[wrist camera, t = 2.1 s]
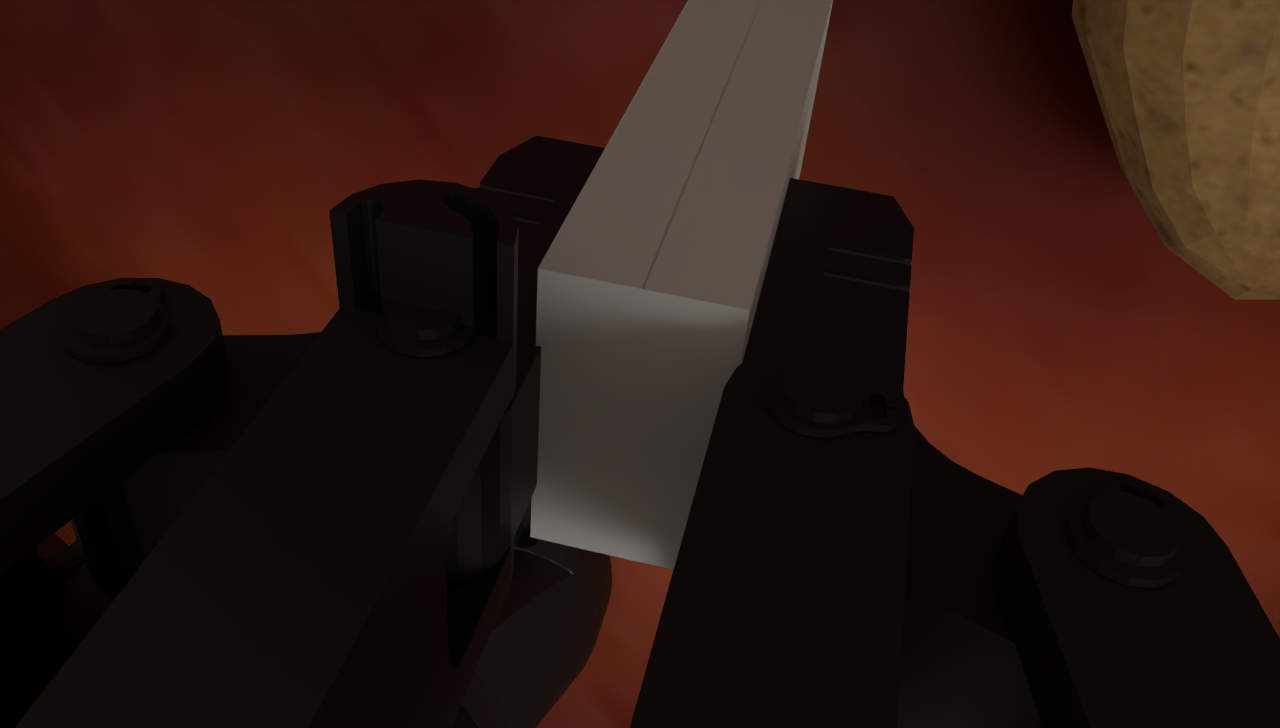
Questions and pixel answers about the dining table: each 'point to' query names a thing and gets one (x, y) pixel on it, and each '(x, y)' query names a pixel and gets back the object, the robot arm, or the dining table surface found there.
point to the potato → (1196, 126)
